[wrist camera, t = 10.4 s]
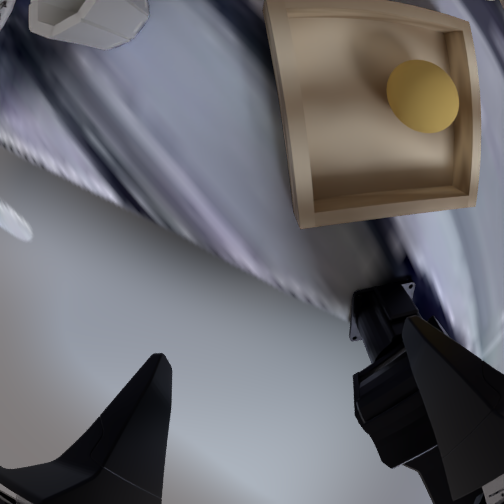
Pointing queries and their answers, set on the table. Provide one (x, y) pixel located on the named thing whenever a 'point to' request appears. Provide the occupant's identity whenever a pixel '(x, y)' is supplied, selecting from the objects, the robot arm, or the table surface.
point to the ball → (422, 96)
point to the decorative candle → (5, 11)
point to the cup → (89, 21)
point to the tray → (370, 109)
